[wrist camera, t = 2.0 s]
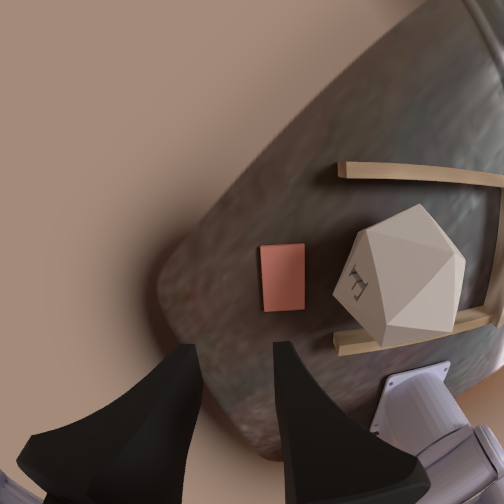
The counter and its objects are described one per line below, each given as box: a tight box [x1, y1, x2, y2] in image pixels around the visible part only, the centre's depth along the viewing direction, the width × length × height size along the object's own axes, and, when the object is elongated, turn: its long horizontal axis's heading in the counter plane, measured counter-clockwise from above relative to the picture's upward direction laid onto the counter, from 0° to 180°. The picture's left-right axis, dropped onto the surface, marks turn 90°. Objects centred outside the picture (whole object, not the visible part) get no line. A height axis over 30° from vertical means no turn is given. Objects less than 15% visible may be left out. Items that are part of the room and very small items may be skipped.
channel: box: [333, 162, 504, 356], centre depth 18 cm, size 14×18×3 cm
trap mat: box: [260, 243, 305, 312], centre depth 20 cm, size 5×3×1 cm, turn 4°
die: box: [332, 204, 466, 348], centre depth 16 cm, size 8×9×10 cm
